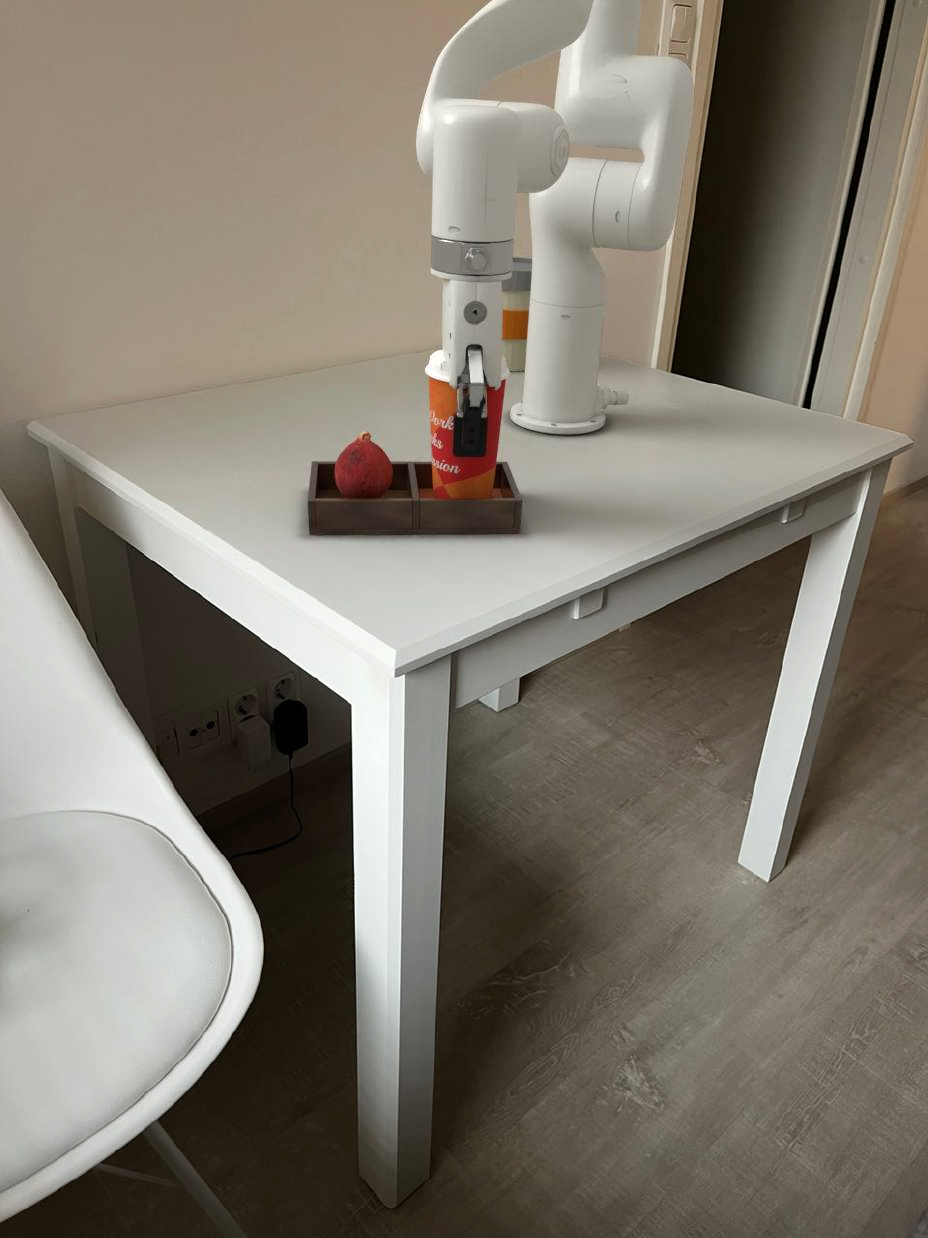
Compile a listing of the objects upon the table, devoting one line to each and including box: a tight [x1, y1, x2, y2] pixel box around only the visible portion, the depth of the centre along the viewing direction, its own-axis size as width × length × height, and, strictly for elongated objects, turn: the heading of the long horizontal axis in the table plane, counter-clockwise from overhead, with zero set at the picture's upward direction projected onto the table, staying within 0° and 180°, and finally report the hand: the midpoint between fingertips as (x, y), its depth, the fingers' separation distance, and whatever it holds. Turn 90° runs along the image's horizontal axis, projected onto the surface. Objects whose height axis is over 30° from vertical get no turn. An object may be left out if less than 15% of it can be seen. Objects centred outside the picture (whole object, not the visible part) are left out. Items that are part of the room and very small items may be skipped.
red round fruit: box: [335, 430, 393, 498], centre depth 97 cm, size 6×6×8 cm
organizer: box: [307, 460, 523, 536], centre depth 99 cm, size 21×11×4 cm, turn 96°
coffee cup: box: [424, 349, 511, 498], centre depth 97 cm, size 8×8×15 cm
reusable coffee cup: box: [502, 256, 532, 372], centre depth 149 cm, size 13×13×15 cm
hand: (464, 439), depth 97 cm, fingers closed on coffee cup, 8 cm apart
